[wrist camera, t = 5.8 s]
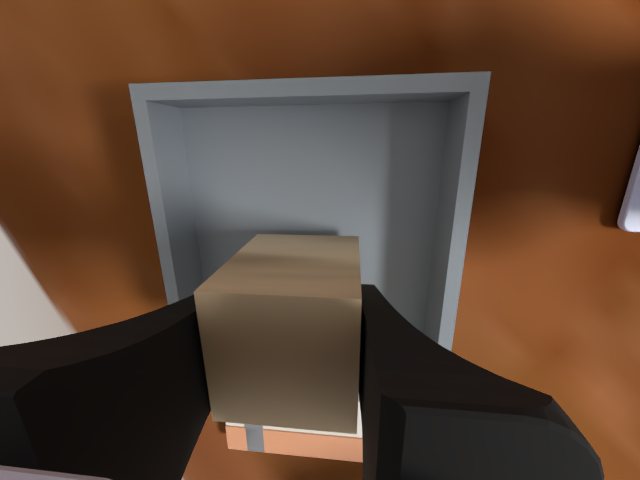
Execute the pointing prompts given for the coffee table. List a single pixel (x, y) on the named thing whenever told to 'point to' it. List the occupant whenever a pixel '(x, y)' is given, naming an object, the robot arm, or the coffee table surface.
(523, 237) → the coffee table surface
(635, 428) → the coffee table surface
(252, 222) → the grey storage bin
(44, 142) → the coffee table surface
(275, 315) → the maple block
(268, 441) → the track board
